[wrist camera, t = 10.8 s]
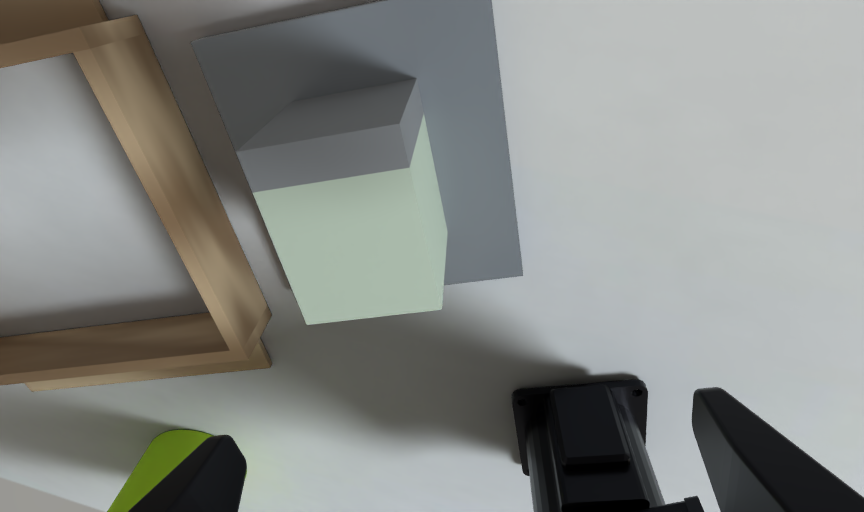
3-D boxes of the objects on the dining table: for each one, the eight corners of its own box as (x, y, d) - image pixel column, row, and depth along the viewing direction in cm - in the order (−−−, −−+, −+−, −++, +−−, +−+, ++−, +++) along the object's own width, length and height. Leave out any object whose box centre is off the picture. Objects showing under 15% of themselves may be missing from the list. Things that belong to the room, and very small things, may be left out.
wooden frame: (292, 361, 25) (273, 407, 23) (18, 389, 28) (-27, 433, 25) (90, -90, 16) (17, -96, 13) (-305, 13, 18) (-431, 25, 16)
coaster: (521, 265, 22) (523, 275, 21) (302, 292, 23) (297, 302, 22) (488, -23, 16) (489, -21, 15) (201, 38, 17) (190, 41, 17)
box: (447, 231, 20) (441, 309, 16) (339, 246, 21) (306, 324, 16) (416, 78, 17) (399, 123, 13) (291, 101, 18) (235, 152, 13)
